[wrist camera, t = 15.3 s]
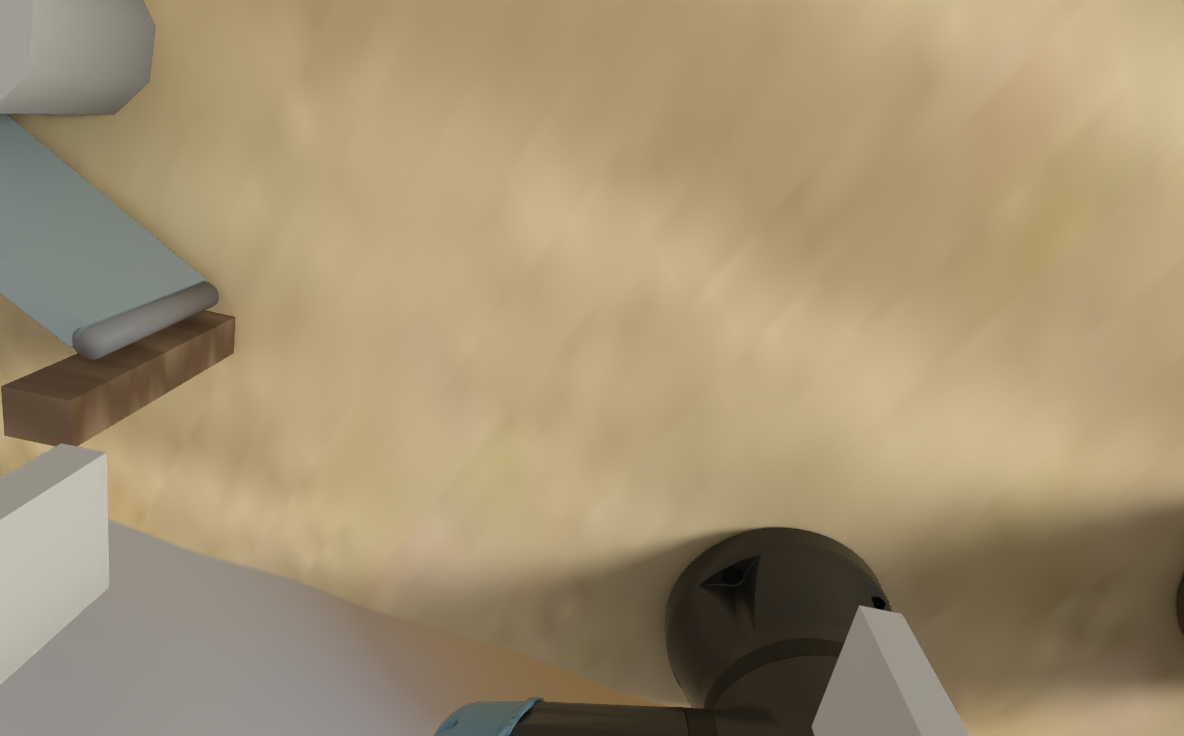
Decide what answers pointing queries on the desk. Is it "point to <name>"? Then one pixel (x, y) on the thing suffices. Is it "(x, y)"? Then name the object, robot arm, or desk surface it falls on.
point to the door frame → (112, 381)
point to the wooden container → (1181, 607)
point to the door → (84, 256)
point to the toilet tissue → (73, 55)
